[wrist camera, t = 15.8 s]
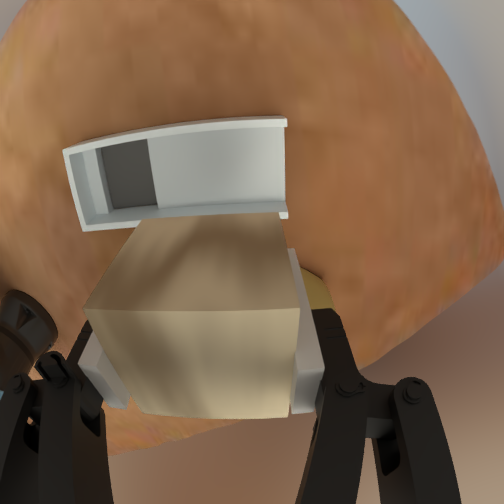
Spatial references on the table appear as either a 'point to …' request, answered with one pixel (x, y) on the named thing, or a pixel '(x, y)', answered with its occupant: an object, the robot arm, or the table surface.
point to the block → (201, 316)
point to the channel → (179, 171)
